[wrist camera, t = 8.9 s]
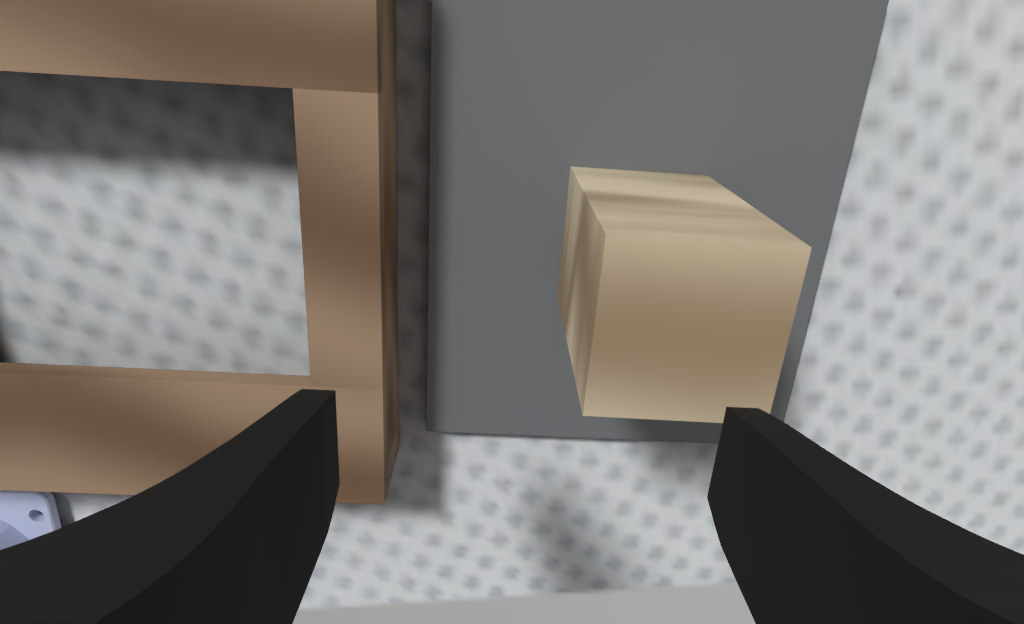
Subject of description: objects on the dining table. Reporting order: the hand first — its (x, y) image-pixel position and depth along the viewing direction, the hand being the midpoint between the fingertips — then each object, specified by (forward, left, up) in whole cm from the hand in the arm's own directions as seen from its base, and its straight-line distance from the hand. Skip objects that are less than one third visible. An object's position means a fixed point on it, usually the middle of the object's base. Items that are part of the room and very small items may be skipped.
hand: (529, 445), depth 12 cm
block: (+2, -3, -9) cm, 10 cm away
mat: (+2, -3, -9) cm, 10 cm away
